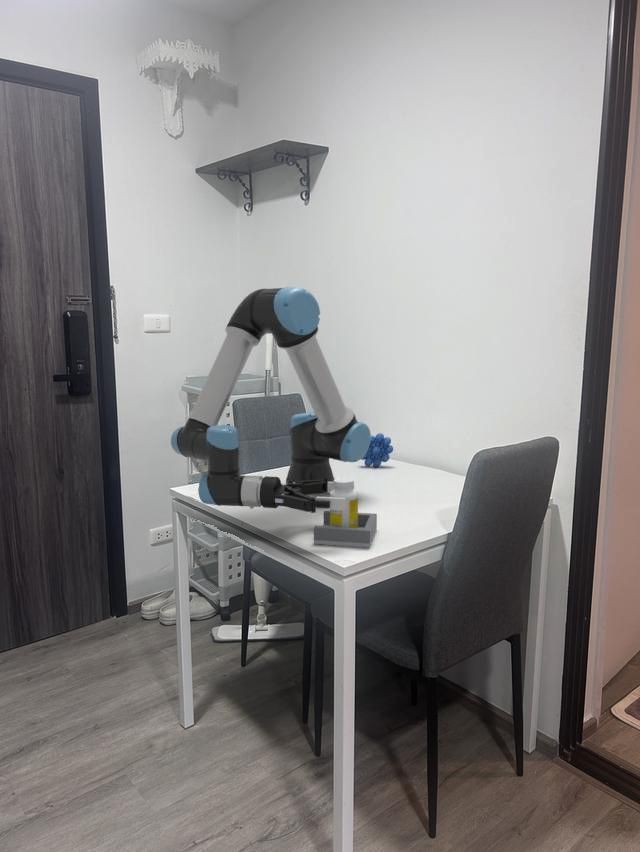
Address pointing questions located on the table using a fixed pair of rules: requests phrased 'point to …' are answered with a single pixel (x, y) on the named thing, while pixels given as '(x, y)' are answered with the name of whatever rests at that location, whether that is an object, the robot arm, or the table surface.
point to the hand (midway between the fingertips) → (349, 496)
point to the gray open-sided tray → (347, 532)
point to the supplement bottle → (351, 504)
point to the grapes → (378, 450)
